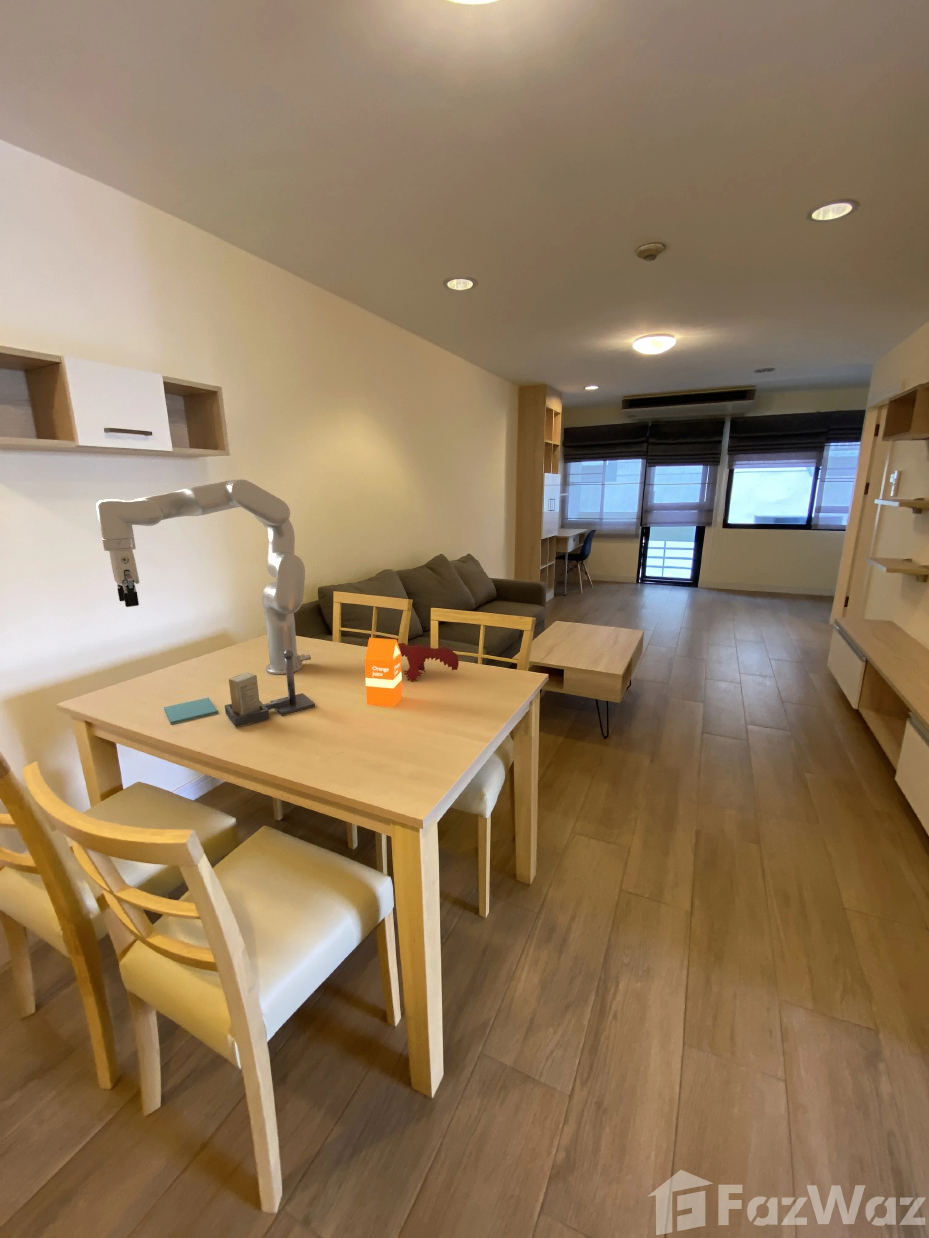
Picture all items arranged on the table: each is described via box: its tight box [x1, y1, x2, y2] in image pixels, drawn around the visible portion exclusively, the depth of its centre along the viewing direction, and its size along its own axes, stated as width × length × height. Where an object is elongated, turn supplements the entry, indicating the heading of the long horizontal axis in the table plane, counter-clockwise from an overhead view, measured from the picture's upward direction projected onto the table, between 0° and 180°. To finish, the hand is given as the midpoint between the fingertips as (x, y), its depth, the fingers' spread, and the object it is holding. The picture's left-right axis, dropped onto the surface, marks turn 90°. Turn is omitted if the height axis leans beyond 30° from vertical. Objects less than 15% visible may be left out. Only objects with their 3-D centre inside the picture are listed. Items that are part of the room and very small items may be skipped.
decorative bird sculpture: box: [398, 642, 460, 682], centre depth 175 cm, size 28×9×15 cm
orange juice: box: [364, 637, 403, 708], centre depth 152 cm, size 8×9×20 cm
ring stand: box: [224, 650, 316, 728], centre depth 144 cm, size 22×11×18 cm, turn 128°
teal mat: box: [163, 696, 219, 725], centre depth 146 cm, size 12×12×1 cm
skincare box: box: [228, 671, 261, 716], centre depth 141 cm, size 6×4×12 cm
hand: (129, 603), depth 146 cm, fingers open, 9 cm apart
